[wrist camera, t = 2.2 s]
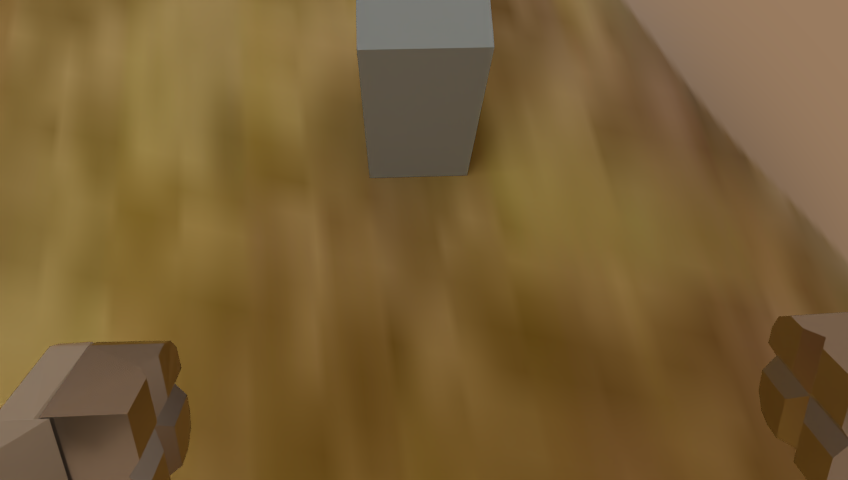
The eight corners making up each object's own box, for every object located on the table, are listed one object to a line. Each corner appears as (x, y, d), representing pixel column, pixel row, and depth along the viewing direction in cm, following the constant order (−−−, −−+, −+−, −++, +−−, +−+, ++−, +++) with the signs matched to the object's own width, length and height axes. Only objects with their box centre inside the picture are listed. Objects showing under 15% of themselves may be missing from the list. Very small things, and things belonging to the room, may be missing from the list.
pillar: (369, 177, 29) (356, 50, 20) (367, 92, 30) (355, -62, 22) (466, 175, 29) (494, 47, 21) (460, 90, 30) (484, -63, 22)
